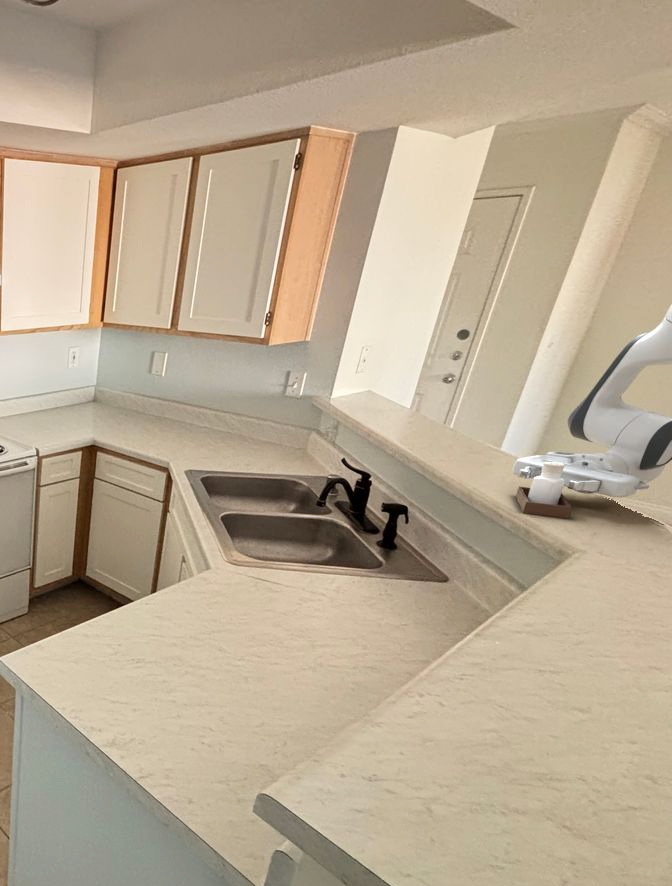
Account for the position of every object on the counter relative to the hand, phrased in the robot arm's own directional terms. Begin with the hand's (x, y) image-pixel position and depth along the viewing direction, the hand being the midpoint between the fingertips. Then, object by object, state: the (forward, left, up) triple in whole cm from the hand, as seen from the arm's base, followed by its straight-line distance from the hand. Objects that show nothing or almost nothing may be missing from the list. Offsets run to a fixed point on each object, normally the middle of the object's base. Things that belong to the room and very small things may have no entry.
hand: (546, 479), depth 128 cm
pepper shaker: (-1, -1, -6) cm, 6 cm away
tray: (-1, -1, -7) cm, 7 cm away
